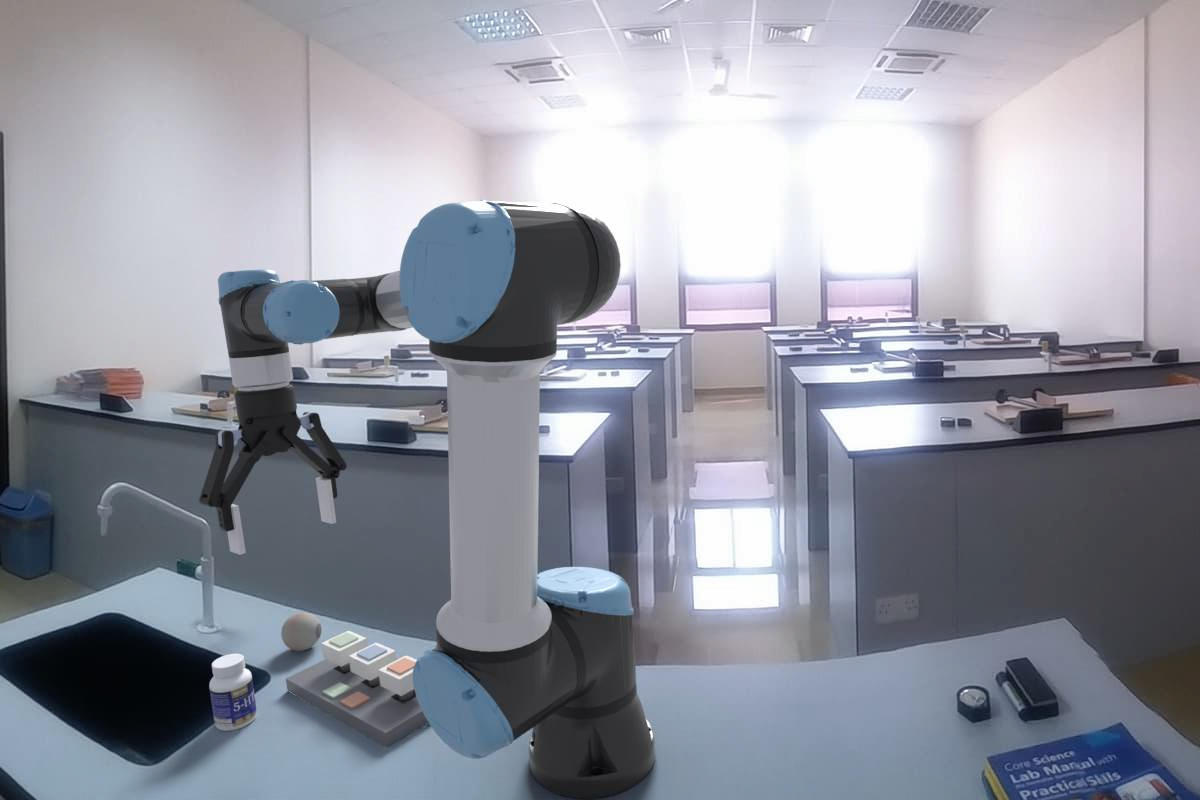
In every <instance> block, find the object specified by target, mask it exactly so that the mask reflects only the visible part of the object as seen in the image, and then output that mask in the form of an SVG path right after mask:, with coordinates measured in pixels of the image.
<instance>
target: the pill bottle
mask: <svg viewBox="0 0 1200 800" xmlns="http://www.w3.org/2000/svg"><path fill="white" fill-rule="evenodd" d="M211 670H212V675H213V676H212V678H211V679H210V681H209V686H208V687H209V693H210V701H211V707H212V713H213V720H214V725H215V728H217V730H220V731H225V732H229V731H234V730H235V731H236V730H239V729H241V728H244V727H246V726H248V725H249V724H251V723H252V722H253V721H254V720H256V718H257V715H258V710H257V702H256V696H255V695H256V694H255V690H254V683H253V682H254V681H253V674H252V672H251V671H250V670H249V669H248V668H246V661H245V657H244V655H243V654H240V653H229V654H226V655H222V656H220V657H218V658H216V659H214V660H213V662H212V663H211Z"/></svg>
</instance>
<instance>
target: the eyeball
mask: <svg viewBox="0 0 1200 800" xmlns="http://www.w3.org/2000/svg"><path fill="white" fill-rule="evenodd" d="M280 633H281V634H280V635H281V640H282V642H283V644H284V645H285V647H287V648H288V649H290V650H291V651H295V652H302V651H306V650H308V649H311V648H312V647H314V646H315V645H316V644H317V642H318V641H319V640H320V638H321V635H322V625H321V623H320V620H319V618H317V616H315V614H312V613H309V612H304V611H303V612H302V611H300V612H297V613H294V614H293V615H290V616H289V617H288V618H286V620H285V622H284V623H283V625H282V627H281V632H280Z"/></svg>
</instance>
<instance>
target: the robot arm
mask: <svg viewBox="0 0 1200 800" xmlns="http://www.w3.org/2000/svg"><path fill="white" fill-rule="evenodd" d="M620 254H621V253H620V250H619V247H618V243H617V241H616V238H615V237H614V235H613V233H612V231H611V229H610V228H609V227H608V226H607V225H606V223H605V222H604V221H603V220H602V219H600V217H598V216H597V215H596V214H594V213H593V212H591V211H589V210H587V209H585V208H582V207H580V206H577V205H574V204H568V203H560V202H557V203H556V202H555V203H554V202H553V203H551V202H550V203H543V202H541V203H540V202H516V201H515V202H514V201H513V202H510V201H491V200H485V199H480V200H473V201H472V200H471V201H461V202H450V203H445V204H441V205H439V206H436V207H435V208H433V209H431V210H430V211H427V213H426V214H424V215H423V216H422V217H421V218H420V219H419V222H418V224H417V226H416V227H414V228H413V229H412V230H411V232H410V234H409V236H408V238H407V240H406V242H405V246H404V248H403V251H402V255H401V258H400V259H401V261H400V267H399V270H397V271H393V272H389V273H384V274H380V275H375V276H367V277H357V278H356V277H355V278H335V279H319V280H317V279H316V280H307V279H305V280H304V279H300V280H293V279H292V280H290V281H289V280H287V281H284V282H281V281H280V277H279V275H278V273H277V271H275V270H273V269H270V268H269V269H267V268H266V269H246V270H236V271H235V270H234V271H225V272H222V273H221V274H220V275H219V276H218V278H217V285H218V296H219V297H218V305H219V306H220V311H221V317H222V323H223V331H224V337H225V341H226V347H227V352H228V353H227V354H228V362H229V369H230V373H231V374H230V376H231V382H232V386H234V387H235V388H238V389H237V390H236V391H235V392H234V393H233V395H234V396H233V397H234V402H235V403H234V404H235V408H236V409H235V410H236V415H237V419H238V422H239V423H238V428H237V429H232V430H231V429H230V430H226V429H218V430H216V431H215V437H214V438H215V448H214V452H213V455H212V458H211V462H210V464H209V468H208V471H207V474H206V478H205V480H204V484H203V487H202V489H201V492H200V495H199V500H198V501H199V503H200V505H204V506H206V507H210V508H216V513H217V519H218V525H219V528H220V530H221V531H224V532H226V533H227V538H228V544H229V545H228V546H229V551H230V552H231V553H234V554H236V555H240V556H241V555H244V554H246V553H247V552H246V550H247V549H246V546H245V538H244V533H243V532H244V531H243V526H242V519H241V512H240V507H239V505H238V504H234V501H235V500H236V498H237V496H238V495H239V492H240V491H241V489H242V488H243V485H244V484H245V482H246V481H247V478H248V477H249V474H250V473H251V471H252V470H253V468H254V467H255V464H256V463H257V462H259V461H260V459H261V458H262V456H263V457H269V456H272V455H274V454H277V453H285V452H289V450H290V451H292V452H293V453H294V454H296V455H297V456H298V457H299V458H300V459H302V460H303V462H305V463H306V464H307V465H308V466H310V467H311V468H312V469H313V470H315V471H316V472H317V473H318V474H319V475H320V476H321V477H320V476H319V477H316V478H315V484H316V490H317V491H316V492H317V498H318V505H319V507H318V508H319V512H320V519H321V520H320V521H321V522H323V523H327V524H331V525H333V524H336V523H337V516H336V509H335V501H334V499H336V498H338V489H337V488H338V487H337V479H338V478H339V477H340V472H341V471H345V470H347V467H348V466H347V462H346V461H345V459H344V458H343V457H342V455H341V454H340V452H339V450H338V449H337V447H336V446H335V444H334V443H333V442H332V440H331V439H330V437H329V436H328V434H327V432H326V431H325V429H324V428H323V425H322V422H321V417H320V414H319V412H318V413H317V412H312V411H305V412H303V413H302V415H300V416H298V414H297V409H298V405H297V404H298V403H297V400H296V399H297V398H296V390H295V386H293V384H291V383H290V382H291V381H292V380H293V379H294V375H293V368H292V360H291V356H290V354H291V353H290V349H289V348H290V347H289V344H294V345H303V344H313V343H318V342H320V341H323V340H328V339H336V338H344V337H353V336H357V335H367V334H378V333H386V332H387V333H388V332H399V331H405V330H407V329H412V328H413V329H414V330H415V331H416V332H417V333H418V334H419V335H420V336H421V337H423V338H425V339H426V340H428V343H429V345H428V346H429V355H430V356H431V358H433V359H434V361H436V362H437V363H438V364H439V365H441V367H442V368H443V369H445V372H446V387H447V388H446V390H447V392H446V393H447V396H446V397H447V402H446V403H447V440H448V442H447V443H448V445H447V447H448V451H447V452H448V492H449V493H448V499H449V501H448V502H449V506H448V507H449V543H450V544H449V545H450V546H449V548H450V549H449V551H450V552H449V553H450V559H449V560H450V594H451V596H450V597H451V599H449V601H447V602H446V603H445V604H444V605H443V606H441V609H439V611H438V613H437V615H436V621H435V622H436V629H435V630H436V632H435V633H436V644H435V645H436V646H435V648H433V649H430V650H429V649H428V650H425V651H424V652H423V654H422V655H421V656H420V657H419V658H418V659H416V660H417V661H416V663H415V665H414V669H413V685H414V689H415V693H416V697H417V700H418V703H419V705H420V707H421V709H422V712H423V713H424V715H425V717H426V719H427V720H428V722H427V723H429V725H430V727H431V728H432V730H433V731H434V732H435V734H436V735H437V736H438V737H439V738H440V739H441V741H442V742H443V743H444V744H445V745H446V746H448V748H450V749H451V750H452V751H453V752H455V753H456V754H459V755H460V756H462V757H465V758H469V759H472V760H474V759H475V760H478V759H479V760H480V759H484V758H486V757H489V756H490V755H492V754H494V753H496V752H498V751H499V750H501V749H503V748H505V747H509V746H510V745H512V744H513V743H514V741H516V740H517V739H518V738H520V737H522V736H523V735H524V734H526V733H527V732H529V731H530V730H532V732H531V734H530V737H529V743H528V756H529V758H528V759H529V766H530V770H531V773H532V775H533V777H534V779H536V781H537V782H538V783H539V784H540V785H541V786H542V787H544V788H545V789H547V790H549V791H551V792H553V793H555V794H558V795H561V796H564V797H571V798H575V799H576V798H577V799H596V798H604V797H608V796H612V795H616V794H619V793H621V792H624V791H627V790H629V789H631V788H632V787H634V786H635V785H637V784H639V782H641V781H642V780H643V779H645V777H646V776H647V775H648V774H649V773H650V771H651V769H652V767H653V766H654V763H655V761H656V760H655V759H656V748H655V744H656V743H655V735H654V732H653V731H654V730H653V729H652V725H651V723H650V722H649V720H647V718H646V715H645V711H644V707H643V705H642V703H641V700H640V697H639V694H638V689H637V673H636V672H637V670H636V667H637V666H636V651H635V649H636V648H635V647H636V646H635V633H634V632H635V631H634V629H635V628H634V627H635V626H634V613H635V611H634V607H633V606H632V598H631V597H632V596H631V589H630V587H629V585H628V582H627V581H626V580H625V579H624V578H623V577H621V576H620V575H618V574H617V573H614V572H613V571H608V570H606V569H602V568H595V567H588V566H565V567H555V568H551V569H547V570H544V571H541V572H539V573H538V563H539V562H538V561H539V560H538V559H539V558H538V554H539V551H538V550H539V545H538V544H539V542H538V541H539V487H540V486H539V485H540V484H539V483H540V482H539V480H540V479H539V478H540V477H539V476H540V475H539V471H540V466H539V465H540V405H541V404H540V398H541V397H540V396H541V395H540V391H541V385H540V383H541V380H540V379H541V377H540V376H541V372H542V370H543V368H544V367H546V366H547V365H548V364H549V363H550V362H551V361H552V360H553V359H554V358H555V357H556V356H557V347H558V346H557V345H558V343H557V341H558V340H557V337H558V326H560V325H561V326H562V325H565V324H566V325H567V324H570V323H574V322H578V321H581V320H584V319H586V318H588V317H590V316H592V315H593V314H595V313H596V312H598V311H599V310H600V309H602V308H603V307H604V306H605V305H606V304H607V303H608V302H609V300H610V299H611V297H612V296H613V294H614V292H615V290H616V288H617V285H618V282H619V280H620V276H621V275H620V274H621V256H620ZM301 428H302V429H305V431H306V432H307V434H308V436H309V437H310V438H311V440H312V442H313V443H314V444H315V447H316V448H317V449H318V451H319V452H320V454H321V455H322V456H323V458H324V459H325V460H324V459H323V458H322V457H321V456H320V455H318V454H317V453H316V452H315V451H314V450H313V449H312V448H311V447H309V446H308V445H307V443H306V442H305V441H304V440H303V439H302V438H301V437H299V435H298V433H299V430H301ZM239 440H240V441H241V442H242V443H243V446H242V447H241V449H240V451H239V453H238V458H237V459H236V461H235V462H234V464H233V466H232V468H231V470H230V471H229V473H228V470H229V467H230V464H231V462H232V461H231V460H232V457H233V453H234V448H235V446H236V445H237V444H238V441H239ZM227 473H228V474H227Z"/></svg>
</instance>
